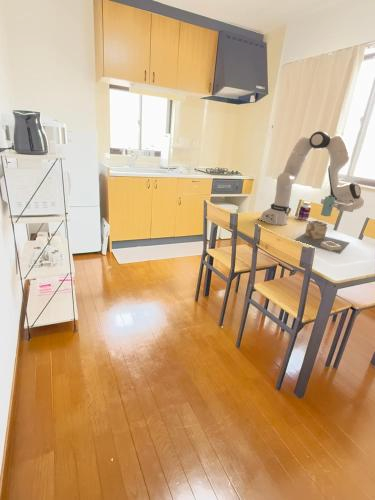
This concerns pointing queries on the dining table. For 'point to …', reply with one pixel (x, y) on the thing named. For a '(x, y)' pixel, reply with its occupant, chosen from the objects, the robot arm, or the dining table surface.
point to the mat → (317, 242)
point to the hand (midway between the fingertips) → (327, 204)
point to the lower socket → (330, 245)
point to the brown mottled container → (316, 229)
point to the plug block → (327, 205)
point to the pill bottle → (304, 211)
